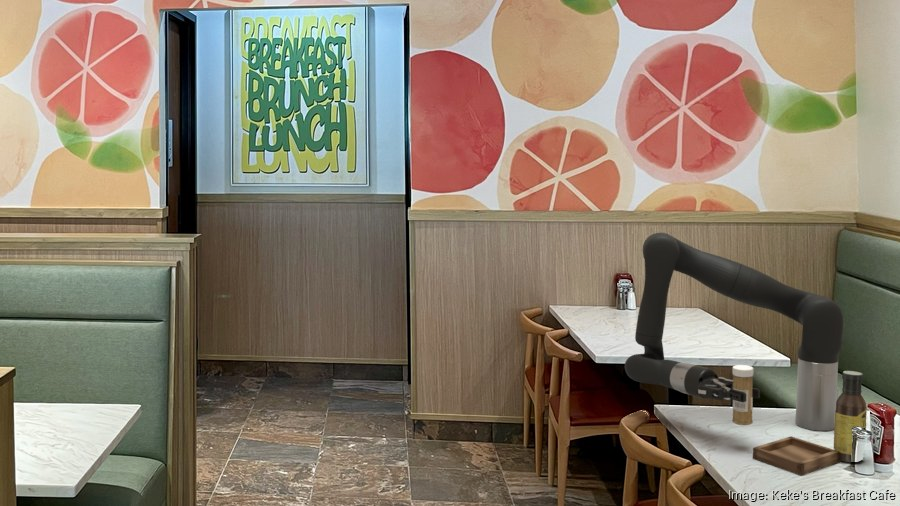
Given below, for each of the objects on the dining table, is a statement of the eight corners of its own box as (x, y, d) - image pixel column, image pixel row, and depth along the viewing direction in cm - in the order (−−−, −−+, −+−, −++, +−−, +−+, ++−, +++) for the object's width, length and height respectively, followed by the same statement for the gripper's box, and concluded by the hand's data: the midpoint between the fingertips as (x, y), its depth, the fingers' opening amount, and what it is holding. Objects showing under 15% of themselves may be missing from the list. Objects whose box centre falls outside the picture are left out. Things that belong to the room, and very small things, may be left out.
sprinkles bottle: (756, 423, 180) (757, 367, 178) (744, 427, 178) (745, 370, 176) (739, 418, 184) (740, 363, 182) (727, 422, 181) (728, 366, 180)
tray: (790, 446, 182) (791, 436, 182) (839, 462, 172) (839, 451, 172) (752, 458, 175) (753, 447, 174) (801, 475, 165) (801, 464, 164)
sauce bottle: (867, 465, 170) (871, 377, 168) (835, 462, 172) (840, 375, 170) (860, 455, 176) (865, 370, 174) (830, 453, 178) (834, 368, 176)
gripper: (673, 369, 188) (732, 385, 173) (712, 361, 195) (772, 375, 181) (673, 399, 189) (731, 417, 174) (712, 389, 196) (771, 406, 182)
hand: (752, 396), depth 178 cm, fingers closed on sprinkles bottle, 4 cm apart
